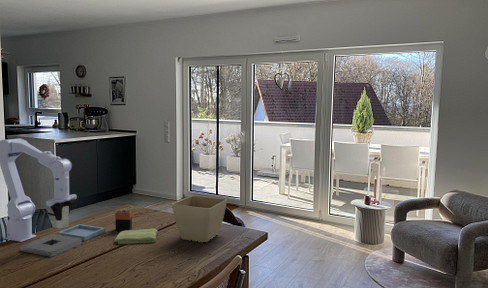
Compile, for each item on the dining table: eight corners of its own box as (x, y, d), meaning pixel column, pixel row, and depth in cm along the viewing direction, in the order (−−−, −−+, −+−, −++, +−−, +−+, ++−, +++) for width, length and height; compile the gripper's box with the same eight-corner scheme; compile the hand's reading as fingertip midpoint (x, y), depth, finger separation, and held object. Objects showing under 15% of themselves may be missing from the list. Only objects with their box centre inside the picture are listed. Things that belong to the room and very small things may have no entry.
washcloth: (119, 235, 171) (119, 228, 170) (158, 234, 174) (158, 227, 173) (114, 245, 158) (113, 238, 157) (156, 244, 161) (156, 237, 160)
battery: (129, 231, 175) (129, 210, 174) (115, 231, 175) (115, 210, 174) (132, 228, 180) (132, 208, 179) (118, 228, 179) (118, 208, 179)
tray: (58, 236, 166) (58, 232, 165) (79, 228, 178) (79, 224, 178) (85, 241, 161) (84, 236, 161) (105, 232, 173) (105, 228, 173)
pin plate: (20, 250, 148) (20, 246, 148) (52, 238, 163) (52, 233, 163) (51, 256, 143) (51, 251, 143) (81, 243, 158) (81, 238, 158)
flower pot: (170, 240, 165) (170, 203, 163) (192, 228, 182) (192, 194, 181) (208, 247, 158) (209, 208, 156) (227, 234, 175) (227, 199, 174)
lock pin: (55, 227, 157) (55, 206, 156) (62, 225, 160) (62, 204, 159) (62, 228, 156) (62, 207, 155) (69, 226, 159) (68, 205, 158)
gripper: (55, 192, 148) (55, 224, 150) (82, 185, 162) (82, 215, 163) (41, 190, 151) (42, 222, 152) (69, 184, 164) (69, 213, 166)
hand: (62, 218), depth 158 cm, fingers closed on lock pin, 4 cm apart
